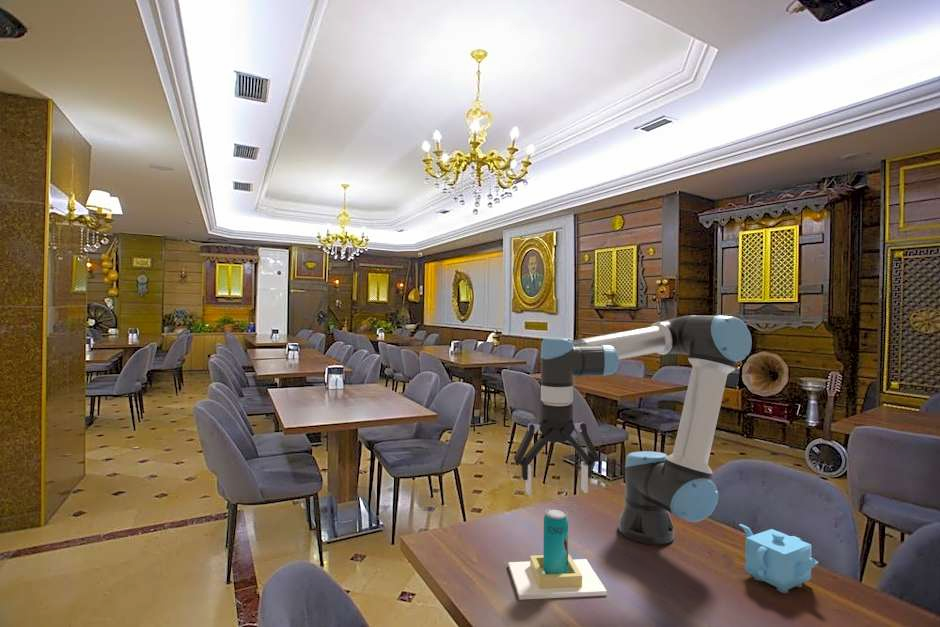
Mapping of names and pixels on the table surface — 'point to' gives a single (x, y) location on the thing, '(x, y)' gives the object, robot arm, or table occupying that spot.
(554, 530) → the beverage can
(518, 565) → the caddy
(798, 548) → the teapot
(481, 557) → the table surface
